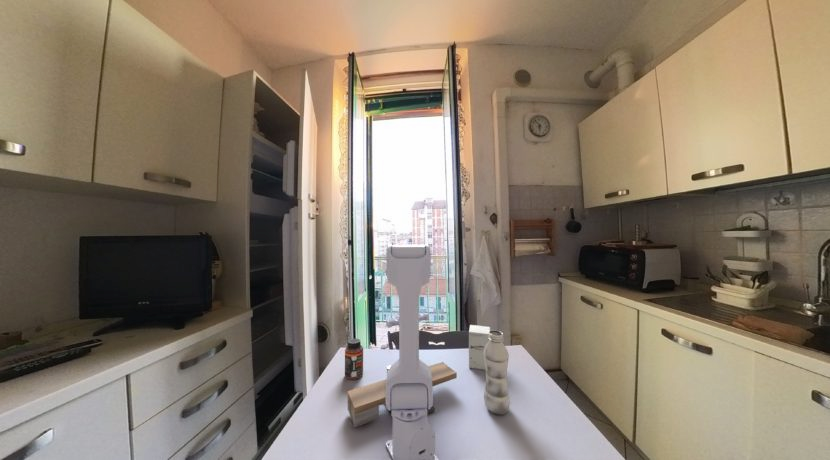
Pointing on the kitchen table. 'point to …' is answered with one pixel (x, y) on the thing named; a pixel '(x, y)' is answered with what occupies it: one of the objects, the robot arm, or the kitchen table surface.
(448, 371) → the balance beam
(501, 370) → the plastic bottle
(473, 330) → the supplement box
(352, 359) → the supplement bottle
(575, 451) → the kitchen table surface
